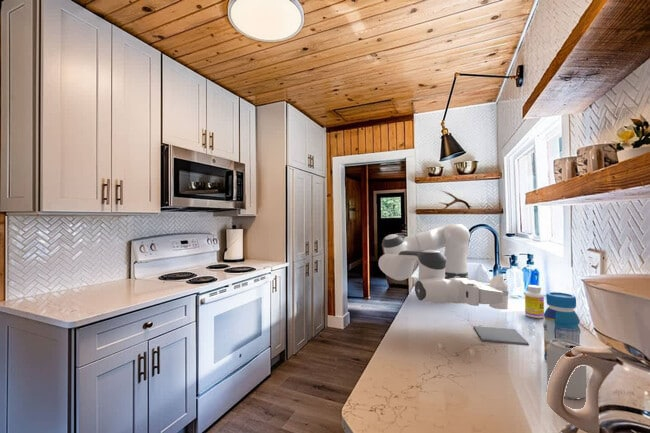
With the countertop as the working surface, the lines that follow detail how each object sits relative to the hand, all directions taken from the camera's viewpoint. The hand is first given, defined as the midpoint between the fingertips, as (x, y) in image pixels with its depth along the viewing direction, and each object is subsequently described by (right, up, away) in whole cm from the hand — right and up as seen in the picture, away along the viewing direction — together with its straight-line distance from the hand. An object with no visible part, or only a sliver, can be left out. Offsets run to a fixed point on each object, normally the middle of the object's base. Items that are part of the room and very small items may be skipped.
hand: (501, 290), depth 108 cm
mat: (-1, -16, 0) cm, 16 cm away
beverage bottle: (+5, -16, -21) cm, 27 cm away
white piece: (-1, -6, 0) cm, 6 cm away
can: (-5, -16, -35) cm, 39 cm away
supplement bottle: (+27, -16, +21) cm, 37 cm away
